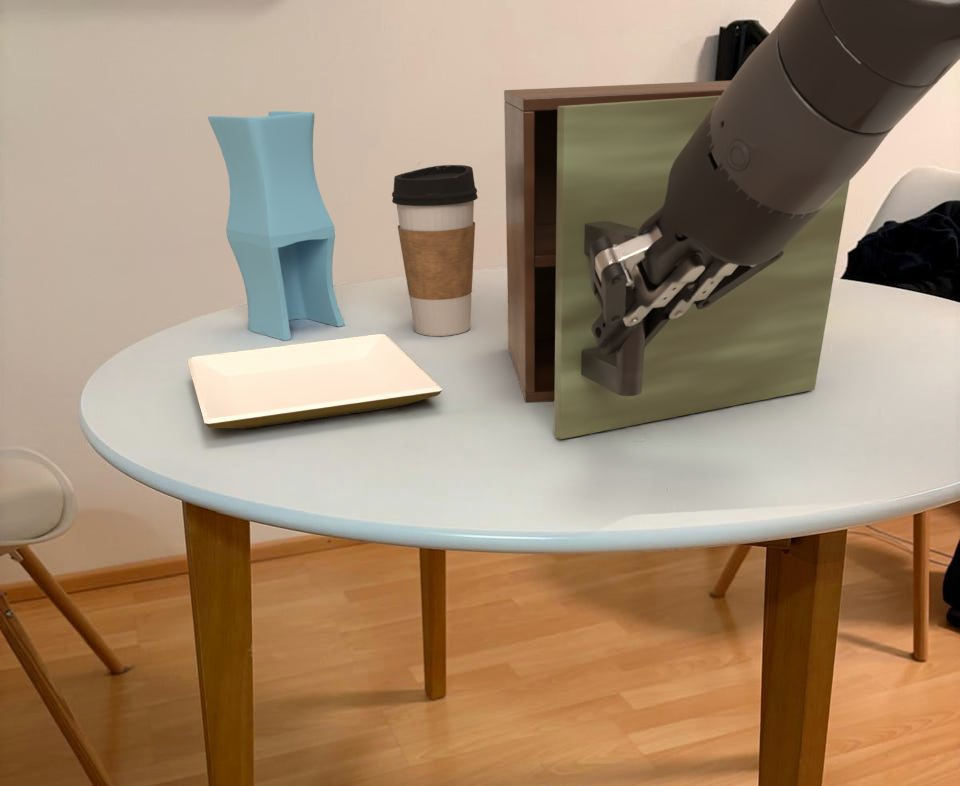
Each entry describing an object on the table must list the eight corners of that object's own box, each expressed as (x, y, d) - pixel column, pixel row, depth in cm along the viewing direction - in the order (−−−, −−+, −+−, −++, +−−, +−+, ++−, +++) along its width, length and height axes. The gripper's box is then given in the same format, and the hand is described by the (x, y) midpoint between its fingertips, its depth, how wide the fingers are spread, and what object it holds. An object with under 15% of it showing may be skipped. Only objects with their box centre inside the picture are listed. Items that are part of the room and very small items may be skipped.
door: (867, 411, 70) (932, 88, 58) (599, 467, 63) (614, 110, 51) (806, 386, 75) (855, 86, 64) (553, 435, 68) (557, 106, 56)
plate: (191, 379, 84) (186, 356, 82) (387, 354, 88) (386, 332, 87) (209, 447, 69) (204, 421, 68) (445, 412, 74) (443, 387, 72)
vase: (302, 314, 103) (275, 110, 92) (345, 325, 98) (321, 112, 88) (242, 328, 99) (206, 116, 88) (284, 340, 94) (251, 118, 83)
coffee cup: (498, 326, 96) (495, 167, 87) (439, 344, 91) (429, 176, 83) (445, 314, 101) (436, 162, 93) (385, 330, 96) (371, 171, 88)
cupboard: (807, 387, 76) (856, 84, 64) (525, 402, 75) (523, 98, 63) (747, 336, 89) (780, 78, 77) (508, 349, 88) (504, 90, 77)
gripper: (847, 77, 48) (676, 278, 64) (638, 86, 43) (507, 303, 59) (906, 198, 47) (717, 372, 63) (700, 223, 42) (550, 407, 58)
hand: (617, 338), depth 61 cm, fingers closed on door, 2 cm apart
